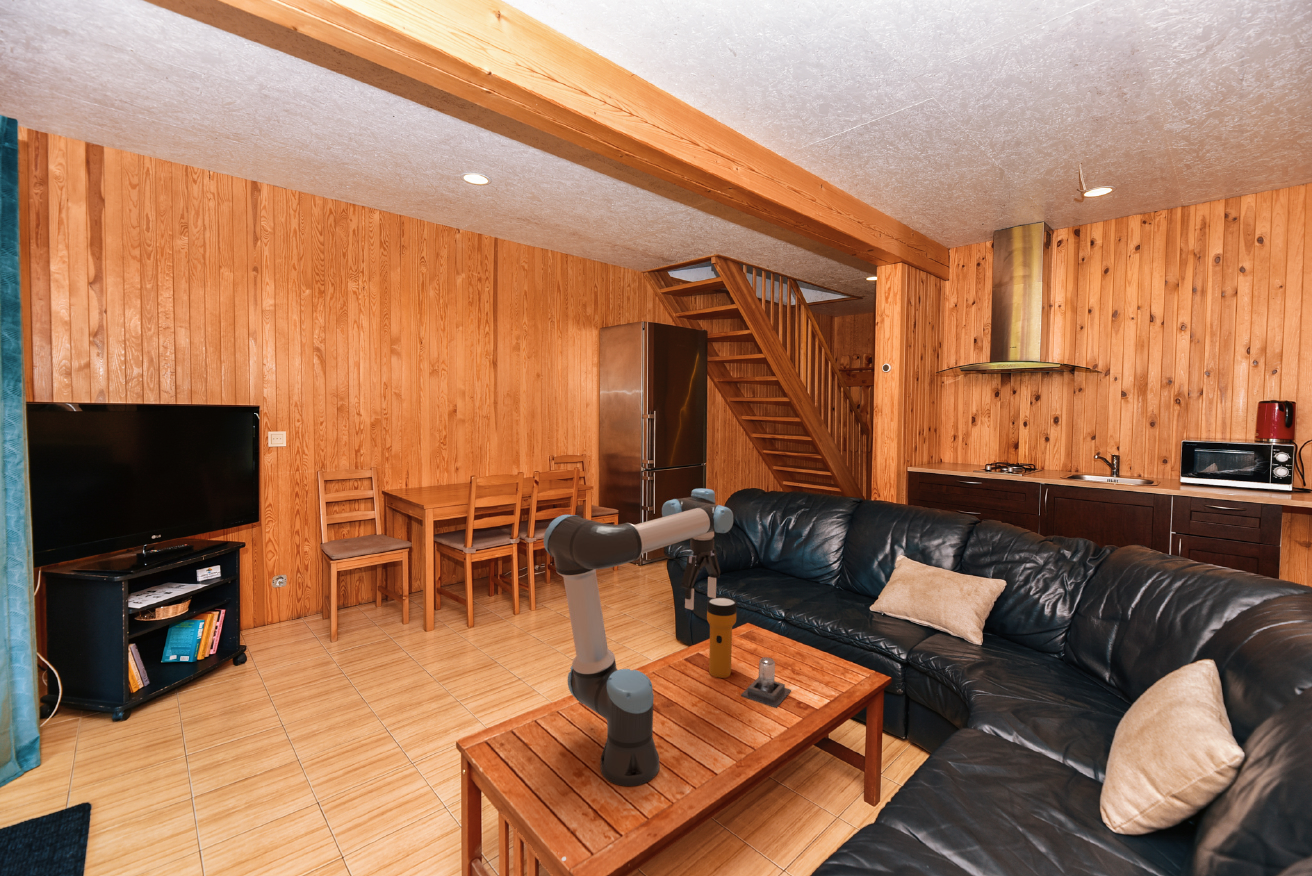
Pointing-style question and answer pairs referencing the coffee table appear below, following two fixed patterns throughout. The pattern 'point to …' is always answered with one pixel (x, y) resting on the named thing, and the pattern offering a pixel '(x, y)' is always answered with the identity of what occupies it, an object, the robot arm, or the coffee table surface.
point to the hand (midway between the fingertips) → (700, 602)
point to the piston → (766, 674)
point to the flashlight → (721, 634)
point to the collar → (767, 694)
